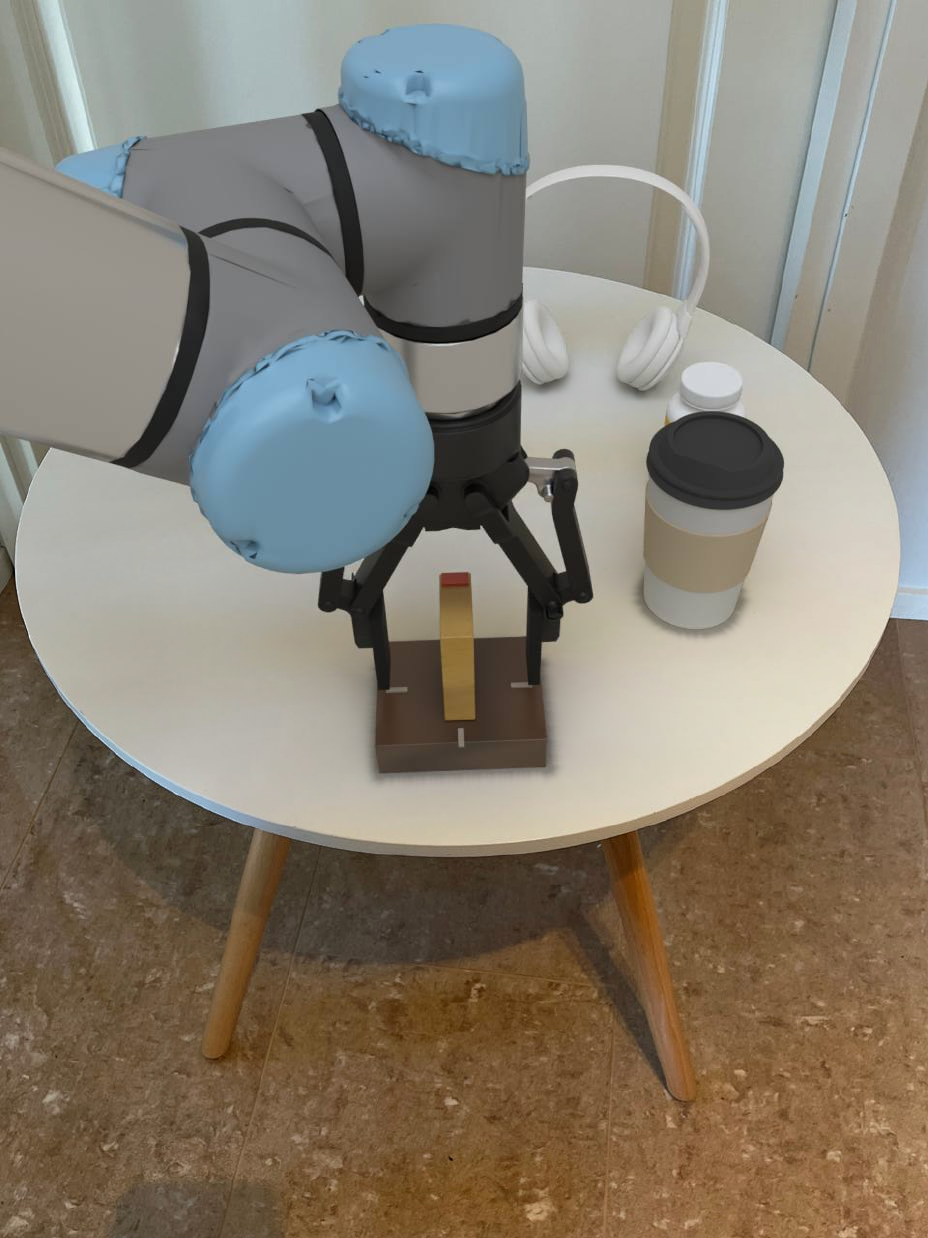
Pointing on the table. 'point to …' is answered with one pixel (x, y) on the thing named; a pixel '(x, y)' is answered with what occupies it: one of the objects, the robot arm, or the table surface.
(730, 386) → the pill bottle
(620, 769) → the table surface
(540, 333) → the headphones
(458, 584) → the lock knob
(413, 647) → the plate
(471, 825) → the table surface
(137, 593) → the table surface
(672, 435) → the coffee cup
